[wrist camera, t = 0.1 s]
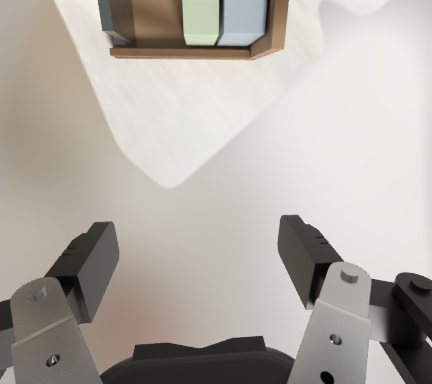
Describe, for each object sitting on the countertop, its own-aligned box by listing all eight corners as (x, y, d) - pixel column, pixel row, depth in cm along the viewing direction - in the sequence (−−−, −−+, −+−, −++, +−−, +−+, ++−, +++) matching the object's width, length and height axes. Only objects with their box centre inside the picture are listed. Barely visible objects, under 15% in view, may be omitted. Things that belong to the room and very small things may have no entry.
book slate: (216, -5, 31) (225, -40, 22) (248, -4, 31) (269, -39, 22) (216, 46, 33) (224, 33, 24) (246, 46, 33) (264, 33, 24)
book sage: (184, -5, 31) (180, -37, 23) (213, -5, 31) (219, -36, 23) (186, 46, 33) (183, 34, 25) (213, 46, 33) (218, 34, 25)
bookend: (107, -8, 30) (69, -47, 21) (131, -7, 30) (102, -45, 21) (115, 45, 32) (83, 30, 23) (136, 45, 33) (113, 31, 23)
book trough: (106, -19, 31) (50, -83, 19) (258, -14, 32) (295, -71, 20) (117, 58, 34) (75, 45, 22) (254, 59, 35) (283, 48, 23)
